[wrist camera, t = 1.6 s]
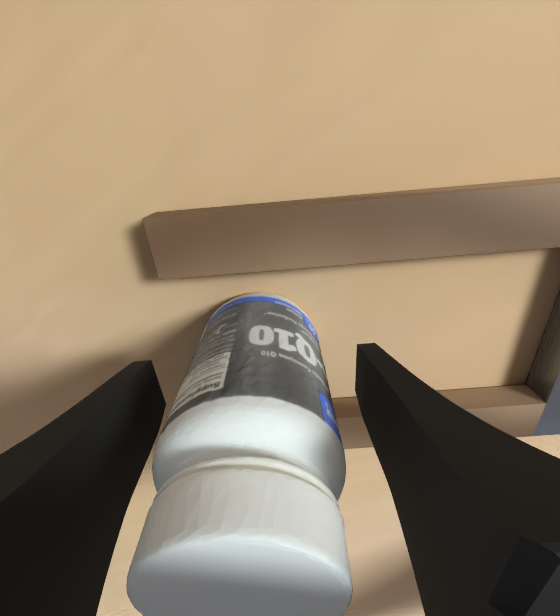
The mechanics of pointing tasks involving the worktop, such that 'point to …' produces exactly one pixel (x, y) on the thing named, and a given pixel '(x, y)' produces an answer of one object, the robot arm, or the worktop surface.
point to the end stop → (548, 376)
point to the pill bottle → (247, 477)
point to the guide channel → (370, 255)
